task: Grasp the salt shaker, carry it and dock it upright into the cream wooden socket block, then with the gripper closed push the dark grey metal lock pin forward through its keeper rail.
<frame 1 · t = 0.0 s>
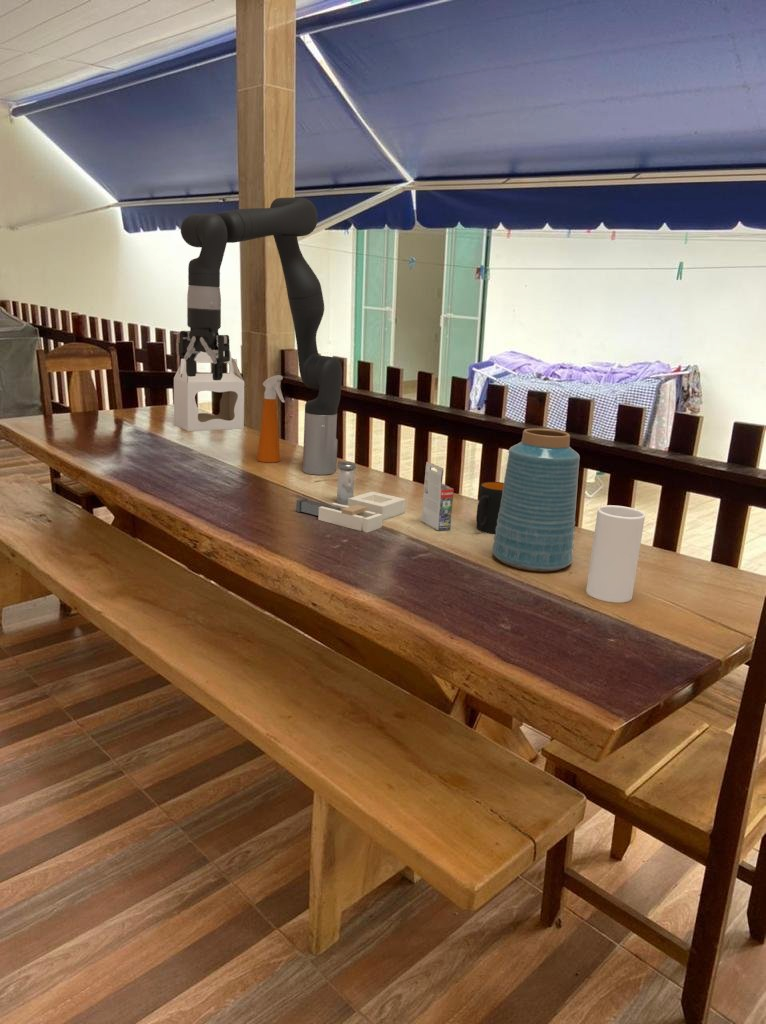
hand: (204, 378, 183), 29 cm above the table, fingers open, 8 cm apart
cup: (608, 595, 144), on the table
spray bottle: (272, 462, 236), on the table
pin guide: (346, 522, 178), on the table
vase: (531, 561, 161), on the table
ink box: (435, 526, 181), on the table
lock pin: (318, 509, 182), point 1 cm above the table, slide at 0.0 cm
socket block: (376, 512, 188), on the table
mug: (489, 531, 180), on the table
gable box: (209, 427, 287), on the table
salt shaker: (344, 502, 195), on the table
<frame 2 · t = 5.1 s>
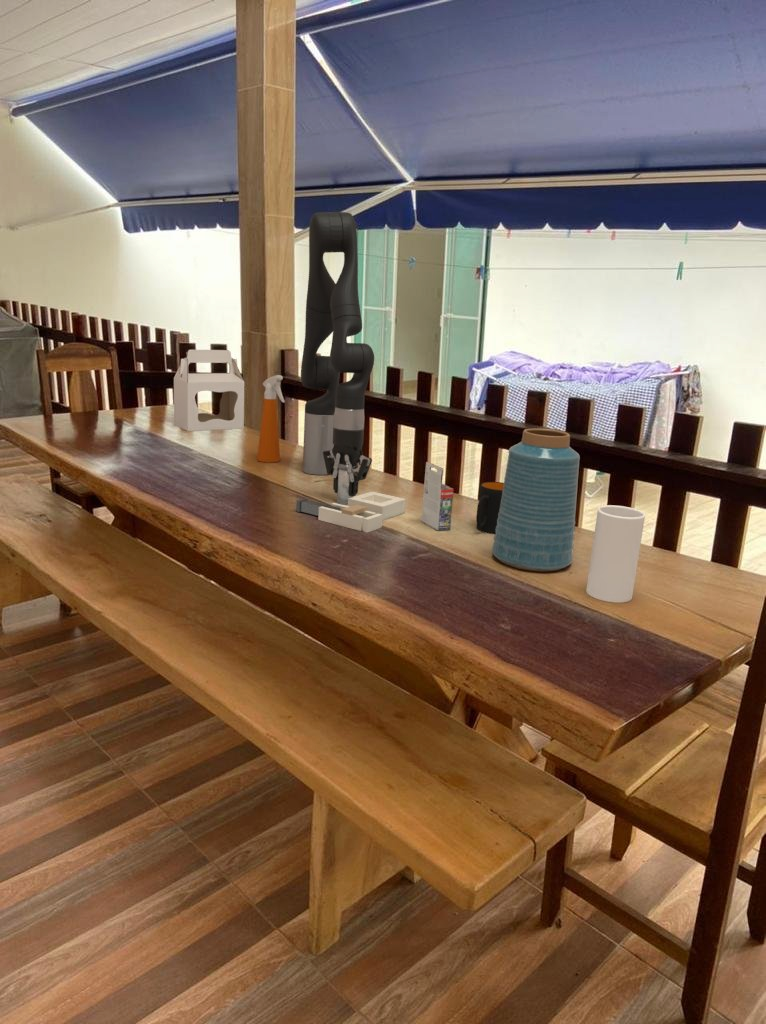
hand: (345, 493, 195), 2 cm above the table, fingers closed on salt shaker, 4 cm apart
salt shaker: (344, 502, 195), on the table, touching gripper
everything else where it was.
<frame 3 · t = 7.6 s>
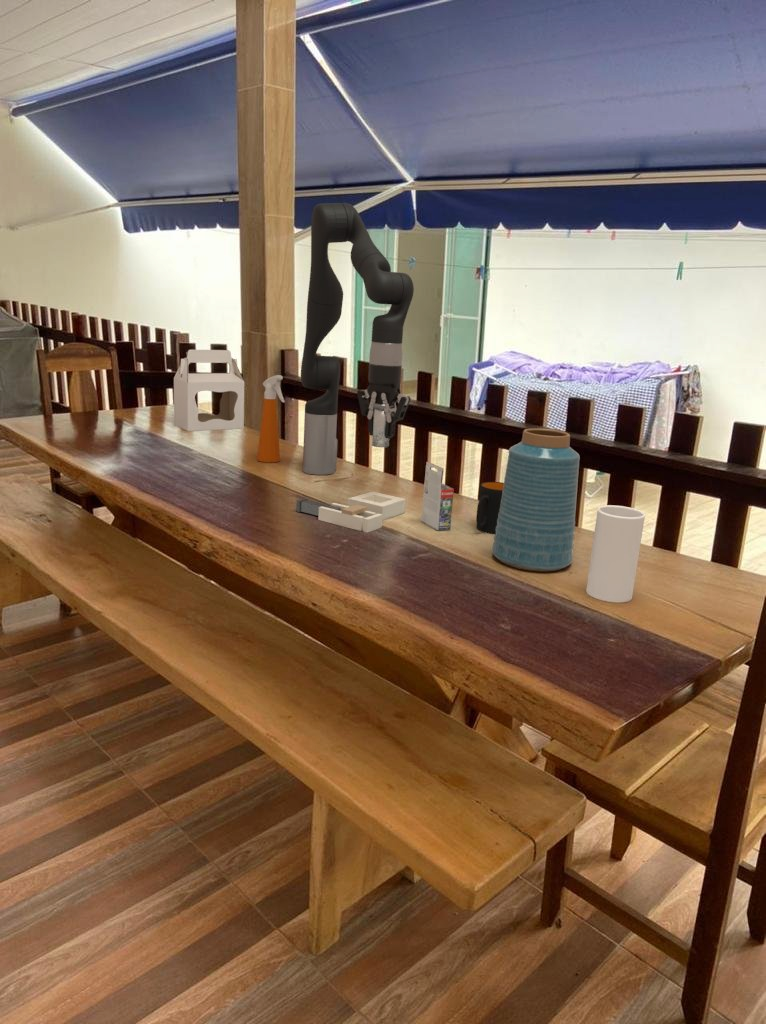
hand: (380, 436, 183), 19 cm above the table, fingers closed on salt shaker, 4 cm apart
salt shaker: (380, 445, 184), point 16 cm above the table, touching gripper
everything else where it was.
when the fingers open (5 cm above the table, at t = 10.4 s): salt shaker drops 2 cm, resting on socket block.
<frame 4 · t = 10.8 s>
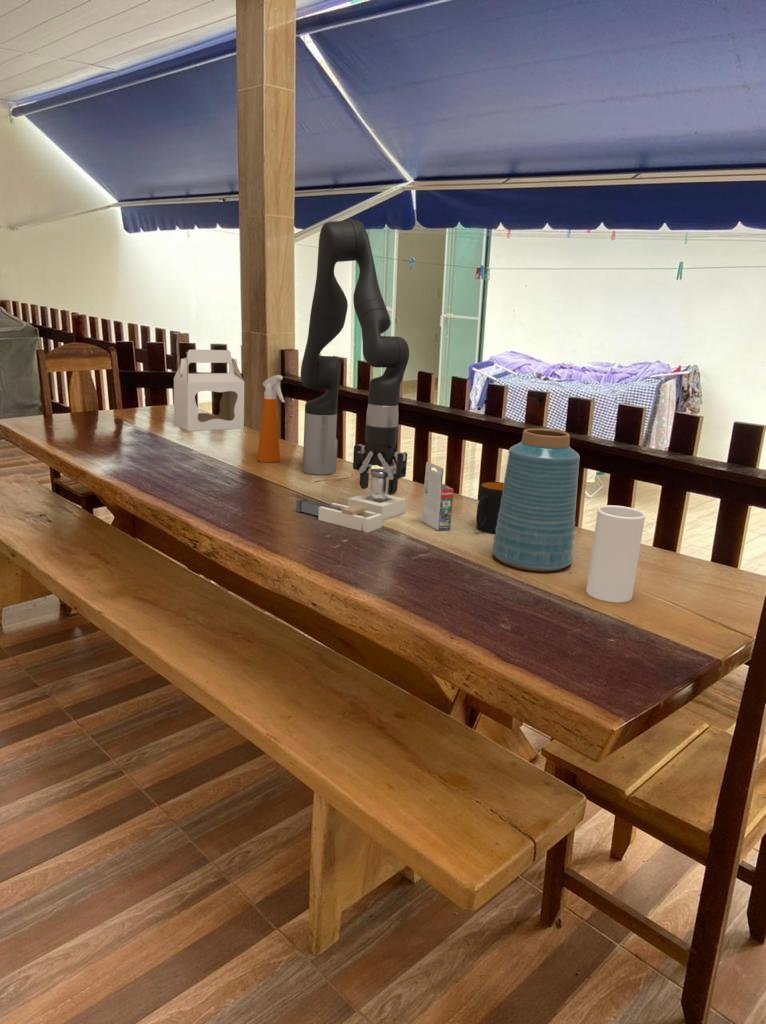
hand: (377, 491, 187), 5 cm above the table, fingers open, 7 cm apart
salt shaker: (377, 511, 188), point 1 cm above the table, touching socket block
everything else where it was.
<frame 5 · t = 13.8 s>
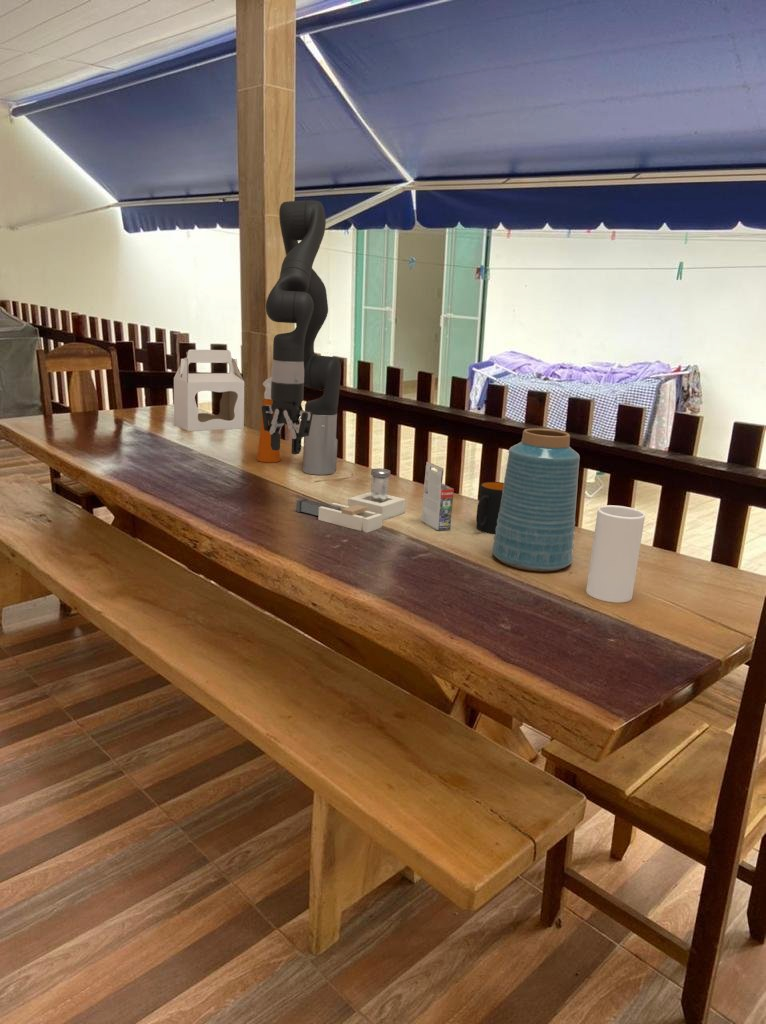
hand: (285, 451, 185), 14 cm above the table, fingers open, 5 cm apart
nothing on the table moved.
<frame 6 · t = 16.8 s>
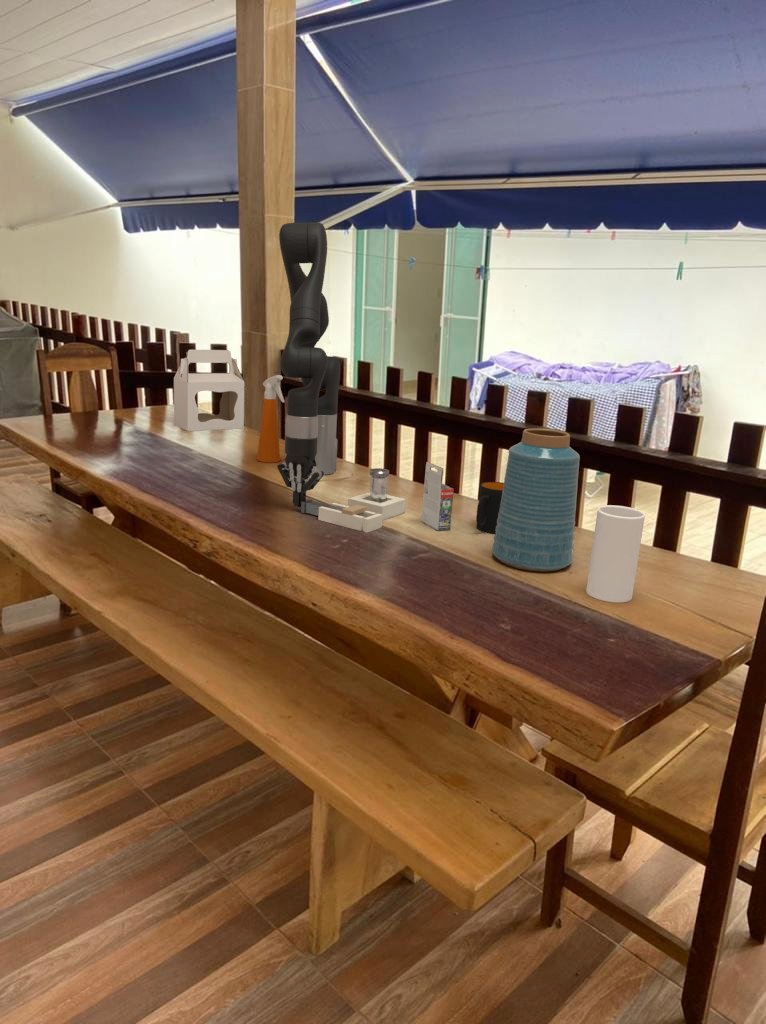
hand: (298, 506, 185), 1 cm above the table, fingers closed
lock pin: (323, 510, 182), point 1 cm above the table, slide at 1.5 cm, touching gripper
everything else where it was.
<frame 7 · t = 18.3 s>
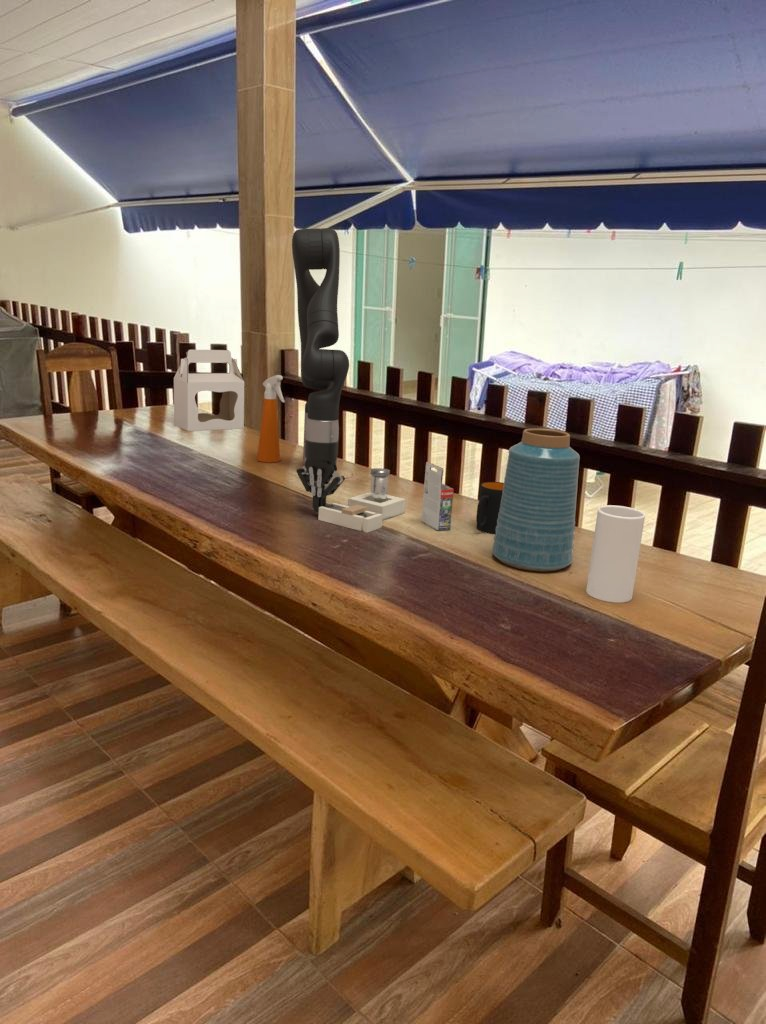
hand: (318, 511, 182), 1 cm above the table, fingers closed
lock pin: (343, 515, 178), point 1 cm above the table, slide at 7.5 cm, touching gripper
everything else where it was.
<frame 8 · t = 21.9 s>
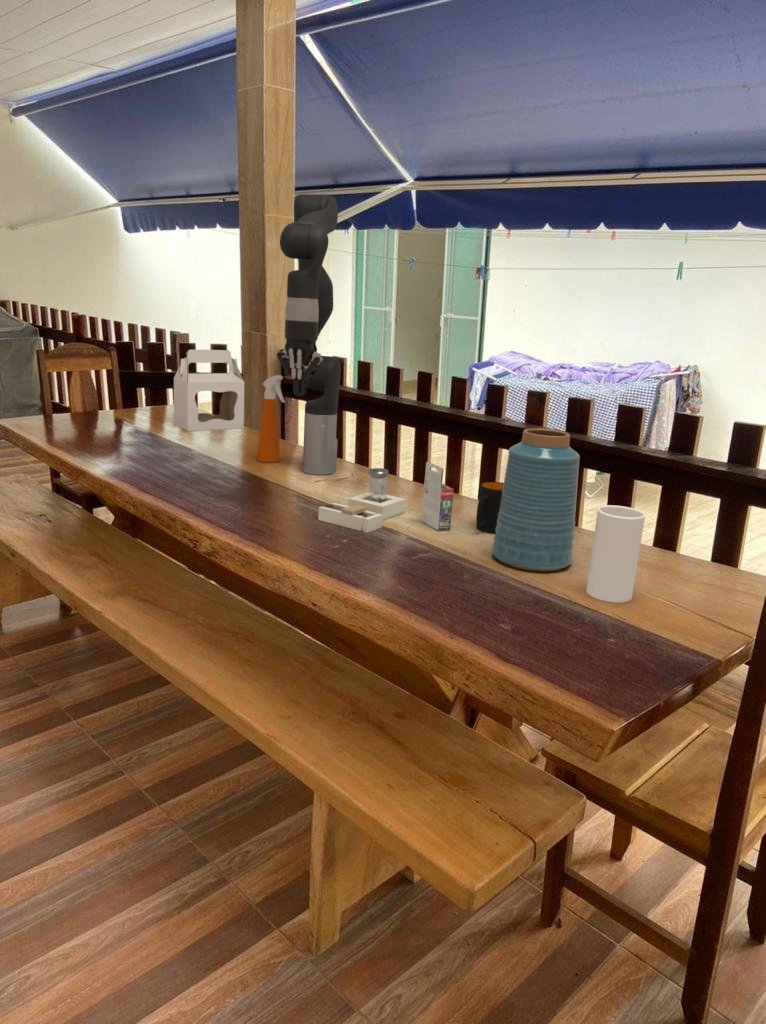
hand: (299, 395, 182), 27 cm above the table, fingers closed
lock pin: (343, 515, 178), point 1 cm above the table, slide at 7.5 cm
everything else where it was.
at the end: salt shaker 0.4 cm off-centre on the socket block, point 0.6 cm above the socket block's base; salt shaker tilted 3°; lock pin slide at 7.5 cm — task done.
